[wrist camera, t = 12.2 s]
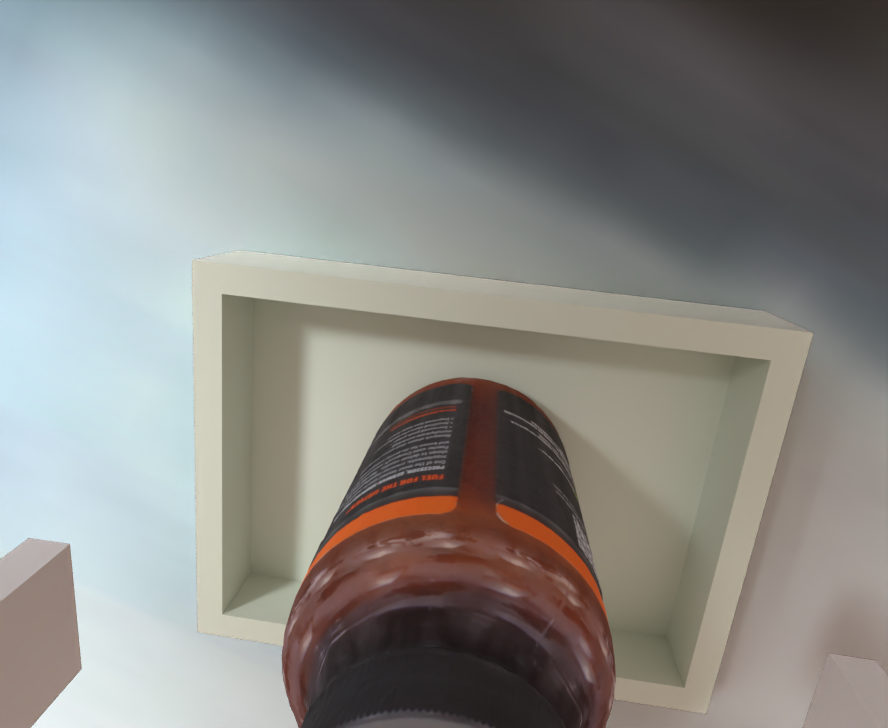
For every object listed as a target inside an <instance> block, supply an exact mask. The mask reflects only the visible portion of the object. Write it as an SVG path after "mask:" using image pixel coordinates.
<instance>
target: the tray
mask: <svg viewBox="0 0 888 728" xmlns="http://www.w3.org/2000/svg"><path fill="white" fill-rule="evenodd" d="M192 297H193V362H194V428H195V494H196V559H197V625H198V632H200V633H206V634H212V635H218V636H224V637H231V638H237V639H243V640H249V641H255V642H261V643H268V644H274V645H280V646H283V641H284V633H285V628H286V625H287V621H288V618H289V614H290V611H291V608H292V605H293V603H294V600H295V597H296V595H297V593H298V590H299V588H300V586H301V584H302V582H303V580H304V578H305V576H306V574H307V572H308V569H309V566H310V564H311V562H312V560H313V558H314V556H315V554H316V552H317V550H318V547H319V545H320V543H321V542H322V540H323V539H324V537H325V535H326V533H327V531H328V529H329V527H330V525H331V522H332V521H333V518H334V516H335V515H336V513H337V511H338V509H339V507H340V505H341V502H342V500H343V499H344V497H345V495H346V493H347V491H348V489H349V487H350V485H351V483H352V481H353V479H354V477H355V475H356V474H357V471H358V469H359V467H360V465H361V463H362V461H363V459H364V457H365V455H366V453H367V451H368V449H369V447H370V445H371V443H372V441H373V439H374V437H375V435H376V433H377V431H378V429H379V428H380V426H381V425H382V423H383V422H384V421H385V419H386V418H387V416H388V415H389V414H390V413H391V411H392V410H393V409H394V408H395V407H396V405H397V404H399V403H400V402H401V401H402V400H404V399H405V398H406V397H408V396H409V395H411V394H412V393H414V392H415V391H417V390H419V389H421V388H423V387H425V386H427V385H430V384H432V383H435V382H439V381H442V380H447V379H452V378H459V377H466V378H479V379H485V380H490V381H494V382H497V383H500V384H504V385H507V386H509V387H511V388H513V389H515V390H517V391H519V392H521V393H522V394H524V395H525V396H527V397H528V398H530V399H531V400H532V401H533V402H535V403H536V405H537V406H538V407H540V408H541V409H542V410H543V411H544V413H545V414H546V415H547V417H548V418H549V419H550V420H551V422H552V423H553V425H554V426H555V428H556V430H557V432H558V434H559V437H560V439H561V441H562V443H563V446H564V448H565V451H566V455H567V458H568V461H569V466H570V470H571V474H572V477H573V481H574V485H575V489H576V493H577V497H578V501H579V505H580V509H581V513H582V517H583V521H584V525H585V529H586V533H587V537H588V541H589V545H590V548H591V552H592V557H593V561H594V564H595V569H596V572H597V576H598V579H599V582H600V587H601V590H602V596H603V604H604V607H605V610H606V614H607V619H608V623H609V628H610V632H611V636H612V642H613V650H614V657H615V670H616V683H615V691H614V699H615V700H621V701H627V702H633V703H639V704H646V705H652V706H658V707H664V708H670V709H677V710H683V711H689V712H695V713H701V714H707V710H708V707H709V703H710V700H711V696H712V693H713V689H714V685H715V682H716V678H717V675H718V671H719V668H720V664H721V660H722V657H723V653H724V650H725V646H726V643H727V639H728V636H729V632H730V628H731V625H732V621H733V618H734V614H735V611H736V607H737V604H738V600H739V596H740V593H741V589H742V586H743V582H744V579H745V575H746V572H747V568H748V564H749V561H750V557H751V554H752V550H753V547H754V543H755V540H756V536H757V532H758V529H759V525H760V522H761V518H762V515H763V511H764V507H765V504H766V500H767V497H768V493H769V490H770V486H771V483H772V479H773V475H774V472H775V468H776V465H777V461H778V458H779V454H780V451H781V447H782V443H783V440H784V436H785V433H786V429H787V426H788V422H789V419H790V415H791V411H792V408H793V404H794V401H795V397H796V394H797V390H798V387H799V383H800V379H801V376H802V372H803V369H804V365H805V362H806V358H807V354H808V351H809V347H810V344H811V340H812V337H813V332H811V331H808V330H806V329H804V328H802V327H799V326H797V325H795V324H792V323H790V322H788V321H786V320H783V319H781V318H779V317H777V316H774V315H772V314H770V313H768V312H765V311H760V310H752V309H743V308H735V307H726V306H717V305H709V304H700V303H691V302H683V301H674V300H665V299H657V298H648V297H639V296H631V295H622V294H614V293H605V292H596V291H588V290H579V289H570V288H562V287H553V286H544V285H536V284H527V283H519V282H510V281H501V280H493V279H484V278H475V277H467V276H458V275H449V274H441V273H432V272H423V271H415V270H406V269H398V268H389V267H380V266H372V265H363V264H354V263H346V262H337V261H328V260H320V259H311V258H302V257H294V256H285V255H277V254H268V253H259V252H251V251H242V250H238V251H233V252H228V253H223V254H218V255H213V256H208V257H203V258H198V259H193V260H192Z"/></svg>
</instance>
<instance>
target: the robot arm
mask: <svg viewBox="0 0 888 728" xmlns="http://www.w3.org/2000/svg"><path fill="white" fill-rule="evenodd" d="M81 669H82V668H81V657H80V646H79V636H78V625H77V614H76V604H75V593H74V582H73V572H72V561H71V550H70V544H66V543H59V542H53V541H46V540H39V539H32V538H28V539H27V540H26V541H24V542H23V543H22V544H20V545H19V546H18V547H16V548H15V549H14V550H12V551H11V552H9V553H8V554H7V555H5V556H4V557H3V558H1V559H0V728H31V727H32V725H33V724H34V723H35V722H36V721H37V720H38V719H39V717H40V716H41V715H42V714H43V713H44V712H45V710H46V709H47V708H48V707H49V706H50V705H51V704H52V702H53V701H54V700H55V699H56V698H57V697H58V695H59V694H60V693H61V692H62V691H63V690H64V689H65V687H66V686H67V685H68V684H69V683H70V682H71V680H72V679H73V678H74V677H75V676H76V675H77V674H78V672H79V671H80V670H81ZM802 728H888V674H887V673H886V672H885V671H884V669H883V668H882V667H881V666H880V664H879V663H878V662H877V661H876V660H871V659H864V658H857V657H850V656H843V655H836V654H828V657H827V659H826V662H825V665H824V668H823V671H822V674H821V676H820V679H819V682H818V685H817V688H816V691H815V693H814V696H813V699H812V702H811V705H810V707H809V710H808V713H807V716H806V719H805V722H804V724H803V727H802Z"/></svg>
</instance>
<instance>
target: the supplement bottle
mask: <svg viewBox="0 0 888 728" xmlns="http://www.w3.org/2000/svg"><path fill="white" fill-rule="evenodd" d="M282 673H283V681H284V684H285V688H286V693H287V696H288V699H289V704H290V707H291V709H292V711H293V713H294V716H295V718H296V721H297V724H298V727H299V728H605V726H606V722H607V720H608V718H609V715H610V711H611V708H612V704H613V699H614V691H615V683H616V670H615V657H614V650H613V642H612V636H611V632H610V628H609V623H608V619H607V614H606V610H605V607H604V604H603V596H602V590H601V587H600V582H599V579H598V576H597V572H596V569H595V564H594V561H593V557H592V552H591V548H590V545H589V541H588V537H587V533H586V529H585V525H584V521H583V517H582V513H581V509H580V505H579V501H578V497H577V493H576V489H575V485H574V481H573V477H572V474H571V470H570V466H569V461H568V458H567V455H566V451H565V448H564V446H563V443H562V441H561V439H560V437H559V434H558V432H557V430H556V428H555V426H554V425H553V423H552V422H551V420H550V419H549V418H548V417H547V415H546V414H545V413H544V411H543V410H542V409H541V408H540V407H538V406H537V405H536V403H535V402H533V401H532V400H531V399H530V398H528V397H527V396H525V395H524V394H522V393H521V392H519V391H517V390H515V389H513V388H511V387H509V386H507V385H504V384H500V383H497V382H494V381H490V380H485V379H479V378H466V377H459V378H452V379H447V380H442V381H439V382H435V383H432V384H430V385H427V386H425V387H423V388H421V389H419V390H417V391H415V392H414V393H412V394H411V395H409V396H408V397H406V398H405V399H404V400H402V401H401V402H400V403H399V404H397V405H396V407H395V408H394V409H393V410H392V411H391V413H390V414H389V415H388V416H387V418H386V419H385V421H384V422H383V423H382V425H381V426H380V428H379V429H378V431H377V433H376V435H375V437H374V439H373V441H372V443H371V445H370V447H369V449H368V451H367V453H366V455H365V457H364V459H363V461H362V463H361V465H360V467H359V469H358V471H357V474H356V475H355V477H354V479H353V481H352V483H351V485H350V487H349V489H348V491H347V493H346V495H345V497H344V499H343V500H342V502H341V505H340V507H339V509H338V511H337V513H336V515H335V516H334V518H333V521H332V522H331V525H330V527H329V529H328V531H327V533H326V535H325V537H324V539H323V540H322V542H321V543H320V545H319V547H318V550H317V552H316V554H315V556H314V558H313V560H312V562H311V564H310V566H309V569H308V572H307V574H306V576H305V578H304V580H303V582H302V584H301V586H300V588H299V590H298V593H297V595H296V597H295V600H294V603H293V605H292V608H291V611H290V614H289V618H288V621H287V625H286V628H285V633H284V641H283V651H282Z"/></svg>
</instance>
